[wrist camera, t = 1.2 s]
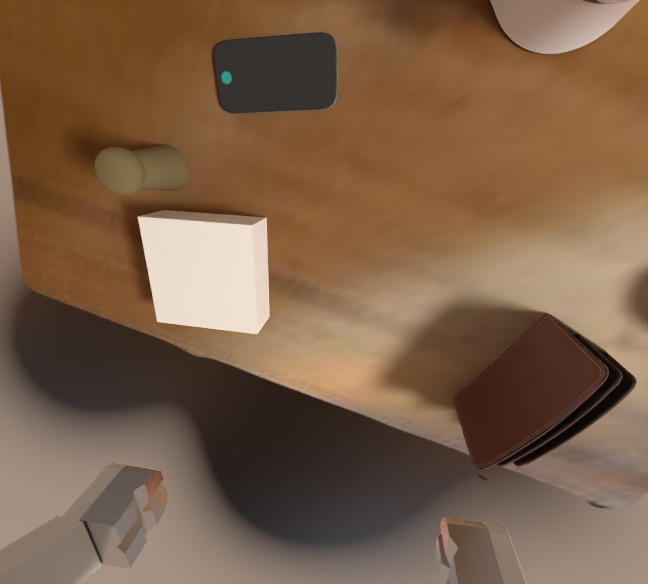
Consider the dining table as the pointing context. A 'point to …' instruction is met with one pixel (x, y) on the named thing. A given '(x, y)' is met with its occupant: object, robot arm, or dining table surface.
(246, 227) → the white block
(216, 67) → the smartphone
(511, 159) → the dining table surface
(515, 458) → the letter holder
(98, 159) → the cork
